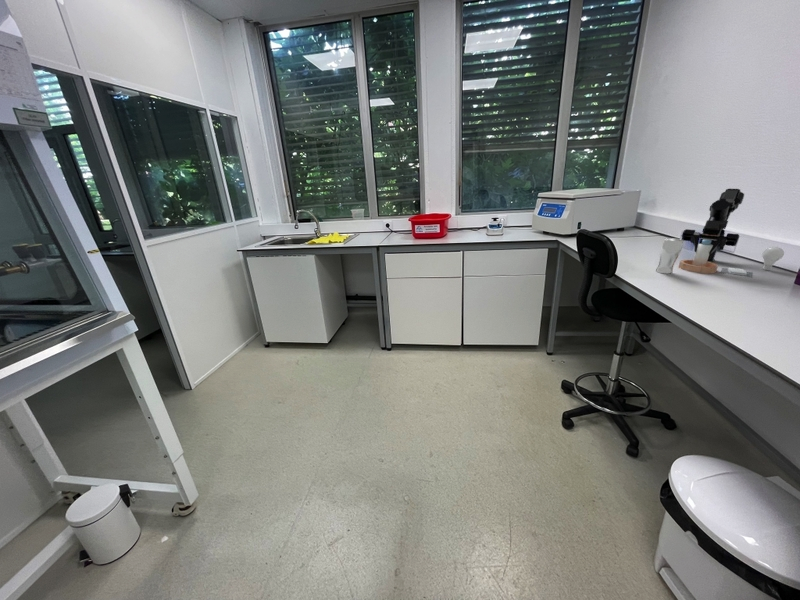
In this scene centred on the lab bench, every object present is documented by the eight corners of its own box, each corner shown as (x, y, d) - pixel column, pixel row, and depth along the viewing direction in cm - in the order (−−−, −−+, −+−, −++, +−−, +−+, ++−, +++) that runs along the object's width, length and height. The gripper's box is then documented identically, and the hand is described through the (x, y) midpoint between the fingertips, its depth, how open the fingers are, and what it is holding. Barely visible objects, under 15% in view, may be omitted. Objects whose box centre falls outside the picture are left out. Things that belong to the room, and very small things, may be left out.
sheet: (727, 269, 146) (728, 267, 146) (742, 271, 144) (743, 269, 143) (730, 273, 141) (731, 271, 141) (746, 275, 138) (747, 273, 138)
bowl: (680, 264, 157) (683, 258, 155) (716, 269, 148) (719, 263, 147) (676, 270, 148) (678, 263, 147) (714, 276, 140) (716, 269, 138)
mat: (721, 268, 149) (722, 267, 149) (752, 273, 142) (752, 272, 142) (720, 273, 143) (720, 272, 143) (752, 278, 136) (752, 277, 136)
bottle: (696, 264, 150) (705, 238, 145) (707, 266, 146) (717, 240, 141) (688, 264, 149) (697, 239, 145) (699, 267, 145) (708, 241, 140)
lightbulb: (771, 269, 147) (782, 246, 142) (778, 273, 141) (789, 249, 137) (752, 268, 149) (762, 244, 145) (759, 271, 144) (769, 247, 140)
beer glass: (666, 269, 149) (677, 237, 143) (677, 274, 142) (688, 241, 137) (650, 269, 150) (660, 237, 144) (660, 274, 143) (671, 241, 137)
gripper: (690, 211, 147) (677, 238, 145) (747, 215, 134) (734, 245, 132) (688, 226, 155) (675, 252, 153) (742, 231, 142) (729, 260, 140)
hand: (702, 252), depth 144 cm, fingers closed on bottle, 5 cm apart
